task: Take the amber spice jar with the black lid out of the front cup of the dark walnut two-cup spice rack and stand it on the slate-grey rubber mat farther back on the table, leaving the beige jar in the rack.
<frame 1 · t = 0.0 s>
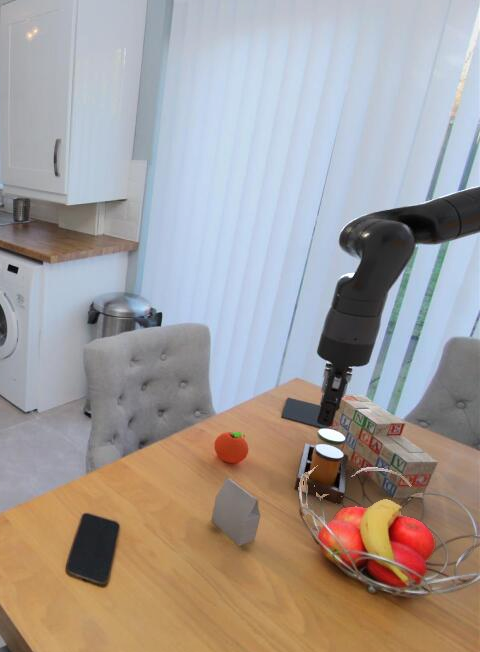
hand: (325, 413, 89), 22 cm above the table, tool pointing down, fingers open, 8 cm apart
grey paper bag: (232, 530, 92), on the table
red tomato: (229, 459, 112), on the table
mat: (315, 416, 127), on the table
rack: (319, 478, 105), on the table
stack of blocks: (368, 466, 108), on the table
beige jar: (321, 468, 107), resting on rack
amber jar: (318, 486, 102), resting on rack
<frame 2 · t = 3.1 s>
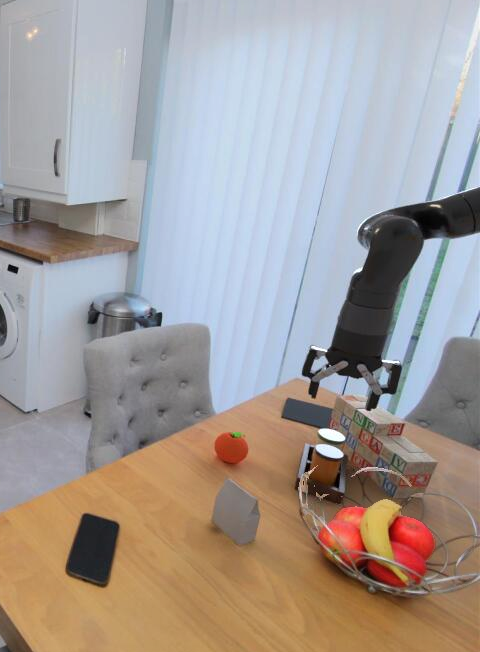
hand: (339, 402, 93), 22 cm above the table, tool pointing down, fingers open, 8 cm apart
nothing on the table moved.
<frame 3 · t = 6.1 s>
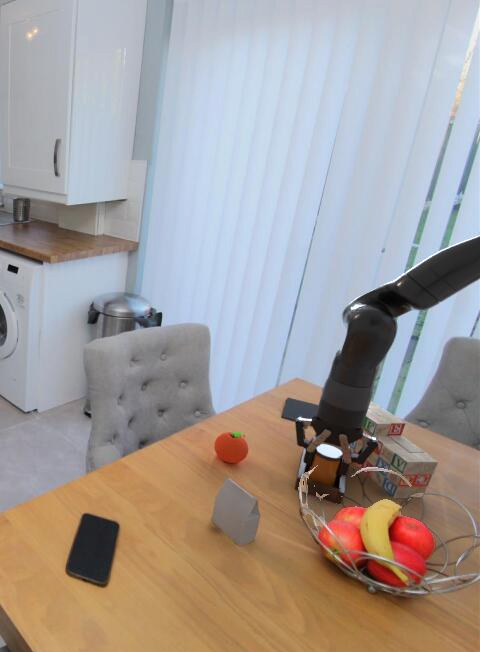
hand: (323, 469, 101), 5 cm above the table, tool pointing down, fingers closed on amber jar, 4 cm apart
amber jar: (318, 486, 102), resting on rack, touching gripper
everything else where it was.
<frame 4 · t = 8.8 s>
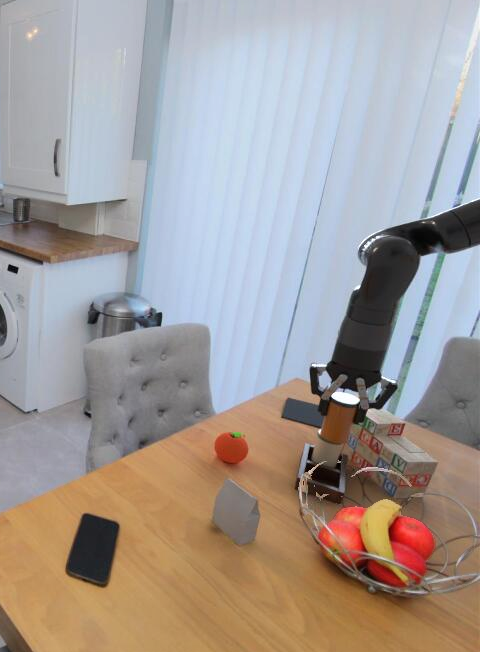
hand: (339, 418, 96), 17 cm above the table, tool pointing down, fingers closed on amber jar, 4 cm apart
amber jar: (333, 436, 98), point 13 cm above the table, touching gripper
everything else where it was.
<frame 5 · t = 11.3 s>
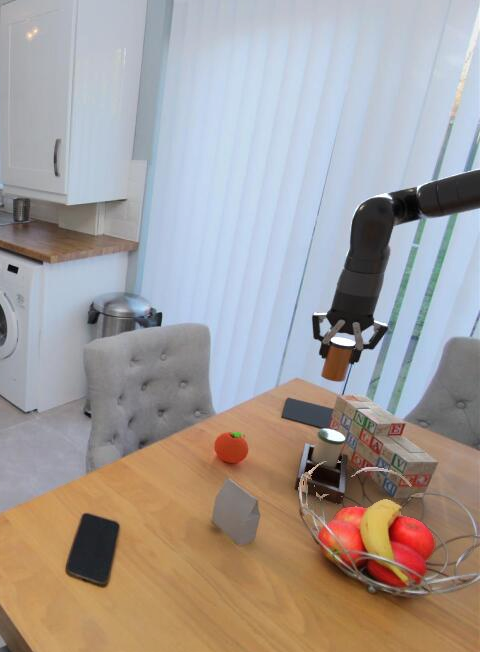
hand: (337, 359, 110), 21 cm above the table, tool pointing down, fingers closed on amber jar, 4 cm apart
amber jar: (332, 377, 112), point 17 cm above the table, touching gripper
everything else where it was.
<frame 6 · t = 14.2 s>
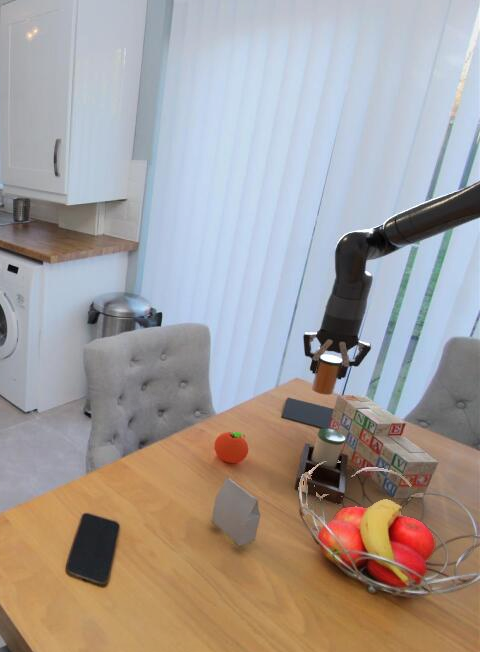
hand: (326, 375, 122), 12 cm above the table, tool pointing down, fingers closed on amber jar, 4 cm apart
amber jar: (322, 390, 124), point 8 cm above the table, touching gripper
everything else where it was.
when the fingers open (5 cm above the table, at t = 16.4 s): amber jar stays where it is, resting on mat.
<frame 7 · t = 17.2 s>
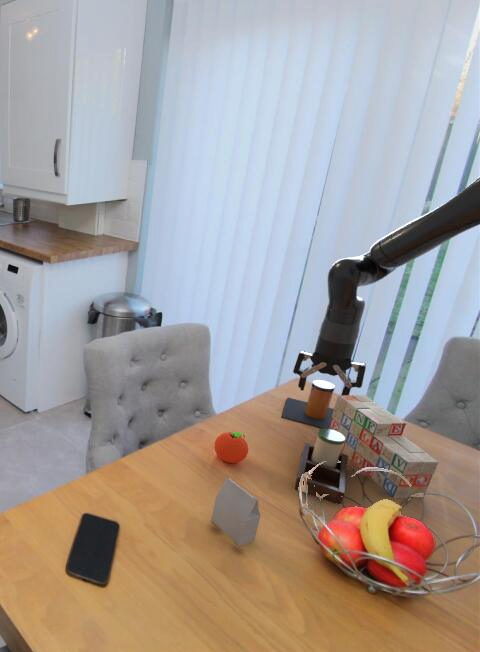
hand: (321, 393, 124), 7 cm above the table, tool pointing down, fingers open, 8 cm apart
amber jar: (315, 414, 127), point 1 cm above the table, touching mat
everything else where it was.
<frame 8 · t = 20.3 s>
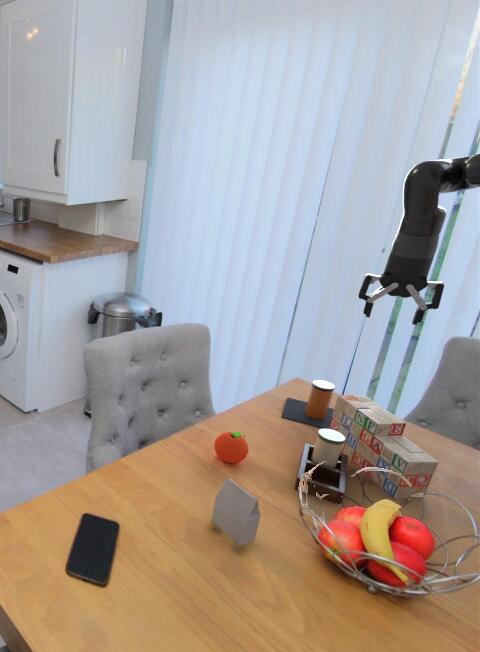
hand: (390, 320, 114), 28 cm above the table, tool pointing down, fingers open, 8 cm apart
nothing on the table moved.
at the end: amber jar inside the target area on the mat (0.1 cm from its centre), point 0.6 cm above the mat's base; amber jar tilted 0°; beige jar moved 0.0 cm from its start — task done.
